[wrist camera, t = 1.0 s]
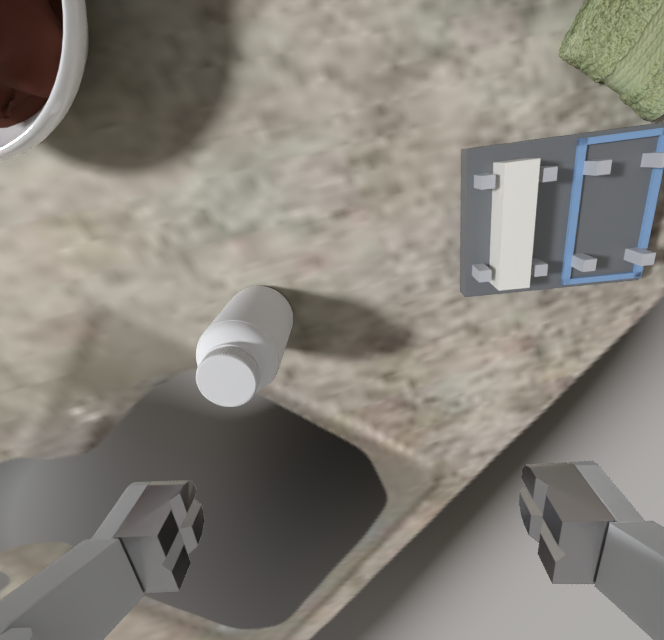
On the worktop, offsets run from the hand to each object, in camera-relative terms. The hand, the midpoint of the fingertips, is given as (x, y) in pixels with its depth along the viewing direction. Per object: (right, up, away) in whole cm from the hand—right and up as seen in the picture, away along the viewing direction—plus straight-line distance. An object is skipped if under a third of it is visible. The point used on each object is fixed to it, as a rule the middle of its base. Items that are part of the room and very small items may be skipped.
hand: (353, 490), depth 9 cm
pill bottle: (-9, +5, +37) cm, 38 cm away
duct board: (+22, +15, +30) cm, 41 cm away
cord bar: (+17, +14, +29) cm, 36 cm away
